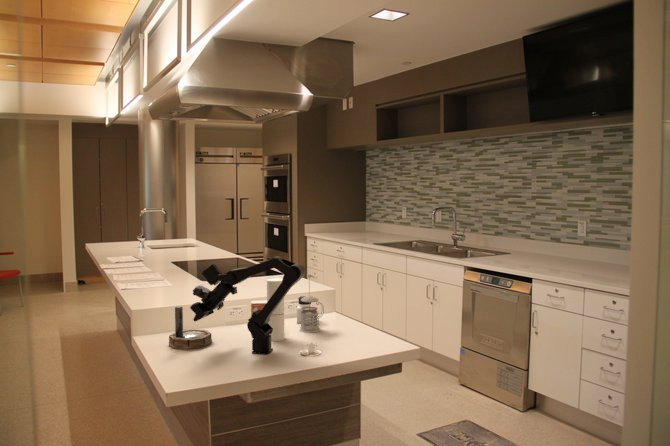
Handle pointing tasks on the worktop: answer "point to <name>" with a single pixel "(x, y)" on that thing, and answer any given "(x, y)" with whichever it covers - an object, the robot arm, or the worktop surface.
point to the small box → (257, 305)
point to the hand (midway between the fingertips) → (194, 320)
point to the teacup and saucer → (310, 349)
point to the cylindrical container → (276, 311)
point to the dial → (179, 327)
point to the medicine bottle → (299, 309)
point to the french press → (310, 326)
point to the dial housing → (190, 341)
